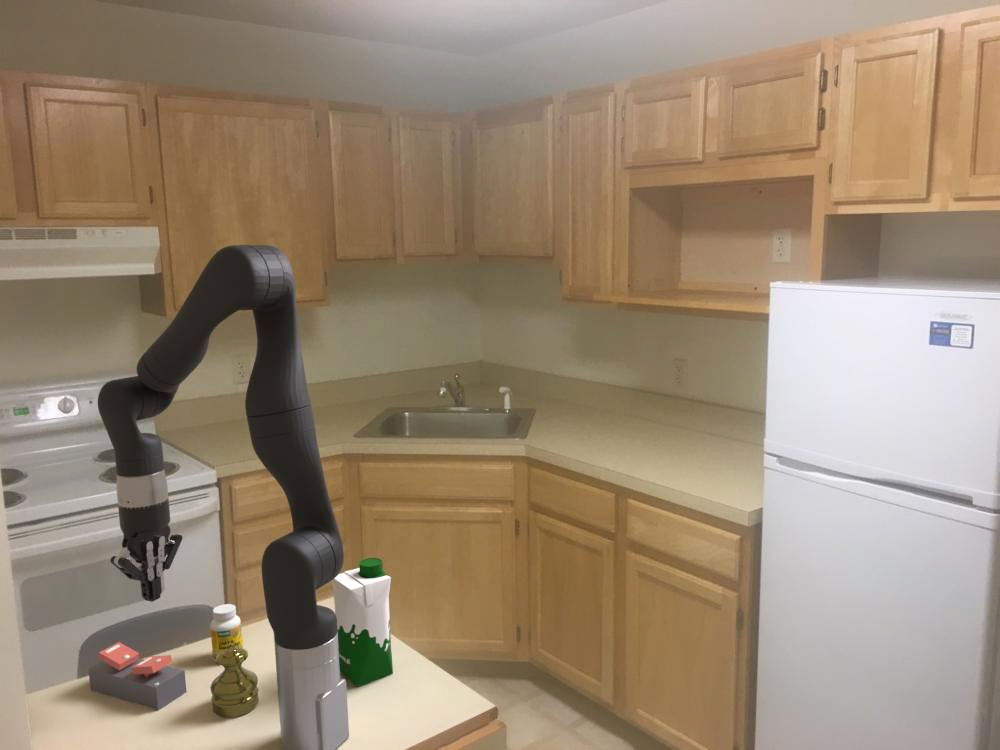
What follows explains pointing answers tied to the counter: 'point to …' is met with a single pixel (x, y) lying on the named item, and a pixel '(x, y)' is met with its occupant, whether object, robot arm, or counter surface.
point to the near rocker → (151, 665)
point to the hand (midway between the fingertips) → (152, 599)
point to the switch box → (138, 684)
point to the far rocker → (118, 656)
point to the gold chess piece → (234, 685)
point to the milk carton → (363, 622)
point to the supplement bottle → (225, 629)
